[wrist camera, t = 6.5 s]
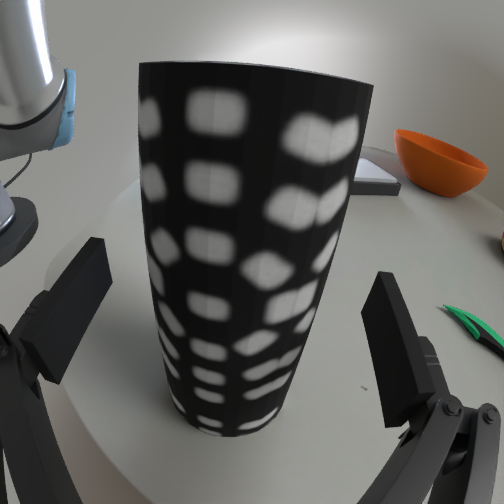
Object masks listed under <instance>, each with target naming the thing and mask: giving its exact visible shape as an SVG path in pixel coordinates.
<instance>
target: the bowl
mask: <svg viewBox="0 0 504 504" xmlns="http://www.w3.org/2000/svg"><path fill="white" fill-rule="evenodd" d="M394 140H395V147H396V151H397V154H398V157H399V160H400V162H401V164H402V166H403V168H404V170H405V172H406V174H407V177H408V178H409V179H410V180H411V181H412V182H414V183H415V184H417V185H418V186H420V187H422V188H424V189H426V190H428V191H430V192H433V193H435V194H438V195H441V196H445V197H456V196H458V195H460V194H462V193H464V192H467V191H469V190H471V189H472V188H474V187H475V186H477V185H478V184H479V183H480V182H481V181H482V180H483V179H484V177H485V176H486V174H487V172H488V168H487V166H486V165H485V164H484V163H482V162H481V161H479V160H478V159H477V158H475V157H473V156H472V155H470V154H468V153H466V152H465V151H463V150H461V149H459V148H457V147H454V146H452V145H450V144H448V143H445V142H443V141H440V140H437V139H435V138H432V137H429V136H426V135H423V134H420V133H416V132H412V131H407V130H400V129H398V130H396V131H395V134H394Z"/></svg>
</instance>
